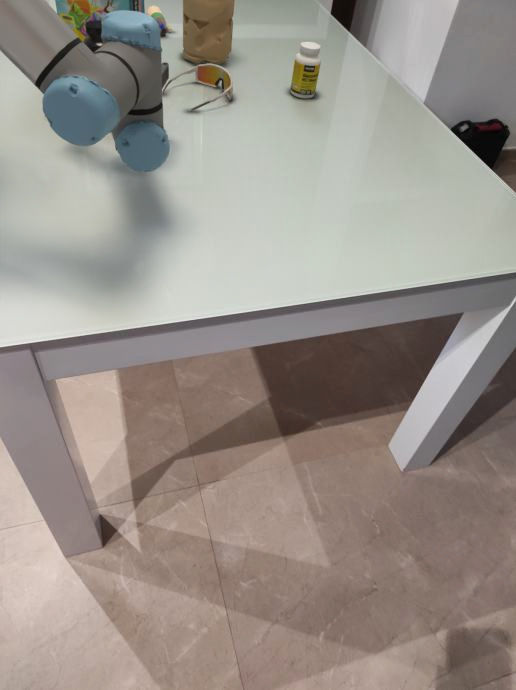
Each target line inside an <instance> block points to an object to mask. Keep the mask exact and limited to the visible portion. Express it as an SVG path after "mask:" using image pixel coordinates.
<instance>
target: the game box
mask: <svg viewBox="0 0 516 690" xmlns="http://www.w3.org/2000/svg"><path fill="white" fill-rule="evenodd" d="M54 1H55V2H54V3H55V7H56V13H57V14H58V15H59V16H60V17H61V18H62V20H63V21H64V22H65V23H66V24H67V25H68V26H69V27H70V28H71V30H72V31H73V32H74V33H75V34H76V35H77V36H78V37H79V38H80V39H81V41H82V42H83V41H84V39H85V38H86V37H88V35H86V26H85V24H86V22H87V21H92V20H101V21H102V18H103V17H104V16H105V15H106V14H108V13H110V12H113V11H121V10H127V11H137V12H141V13H145V14H146V11H145V8H146V7H145V0H54Z"/></svg>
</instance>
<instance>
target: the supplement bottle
mask: <svg viewBox="0 0 516 690" xmlns="http://www.w3.org/2000/svg"><path fill="white" fill-rule="evenodd" d="M101 23H102V21H101V20H92V21H87V22H86V24H85V26H86V35H88V37H86V38H85V39H84V41H83V43H84V44H85V45H86V46H87V47H88V48H89V49H90V50H91V51H92V52H93V53H94V52H95V51H96V50H98V49H99V48H100V47H102V46H103V41H102V39H101V34H102V24H101Z"/></svg>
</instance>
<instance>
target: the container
mask: <svg viewBox="0 0 516 690" xmlns="http://www.w3.org/2000/svg"><path fill="white" fill-rule="evenodd" d="M235 1H236V0H182V48H183V49H182V58H183V59H184V60H187V61H191V62H192V63H194V64H196V65H200V63H202V62H204V63H209V64H216V65H220V64H223V63H225V62H226V61H227V60H228V59H229V58H230V54H231V53H232V46H233V33H234V32H233V30H234V20H233V17H234V13H235Z"/></svg>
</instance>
